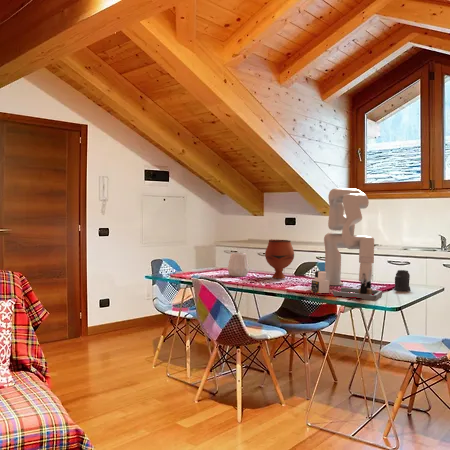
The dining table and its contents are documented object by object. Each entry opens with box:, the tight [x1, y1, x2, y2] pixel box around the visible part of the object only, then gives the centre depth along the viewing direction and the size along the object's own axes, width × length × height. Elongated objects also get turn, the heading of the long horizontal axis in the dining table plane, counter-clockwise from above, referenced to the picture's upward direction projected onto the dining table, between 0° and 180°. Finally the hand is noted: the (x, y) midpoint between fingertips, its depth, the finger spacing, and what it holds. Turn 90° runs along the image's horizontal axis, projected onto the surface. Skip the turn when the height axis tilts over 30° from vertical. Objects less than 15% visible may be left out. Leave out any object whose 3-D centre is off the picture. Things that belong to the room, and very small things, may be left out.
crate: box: [358, 287, 374, 295], centre depth 263 cm, size 6×5×4 cm
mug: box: [393, 269, 411, 293], centre depth 285 cm, size 12×9×11 cm
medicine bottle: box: [310, 270, 330, 294], centre depth 273 cm, size 7×7×12 cm
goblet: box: [264, 238, 295, 280], centre depth 328 cm, size 19×19×25 cm
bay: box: [332, 286, 383, 301], centre depth 265 cm, size 22×16×2 cm
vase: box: [227, 252, 250, 278], centre depth 336 cm, size 14×14×15 cm
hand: (365, 292), depth 263 cm, fingers open, 9 cm apart
